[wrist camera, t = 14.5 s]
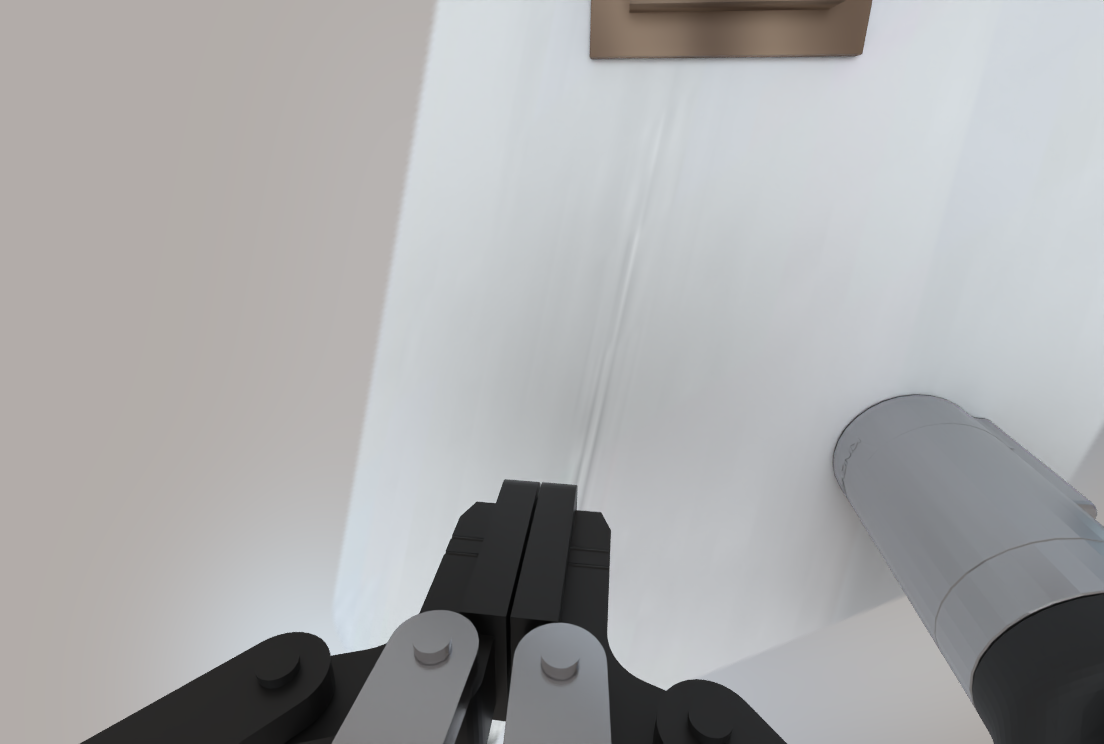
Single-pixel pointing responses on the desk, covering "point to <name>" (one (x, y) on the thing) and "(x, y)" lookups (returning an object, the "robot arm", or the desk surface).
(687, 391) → the desk surface
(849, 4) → the cup holder
